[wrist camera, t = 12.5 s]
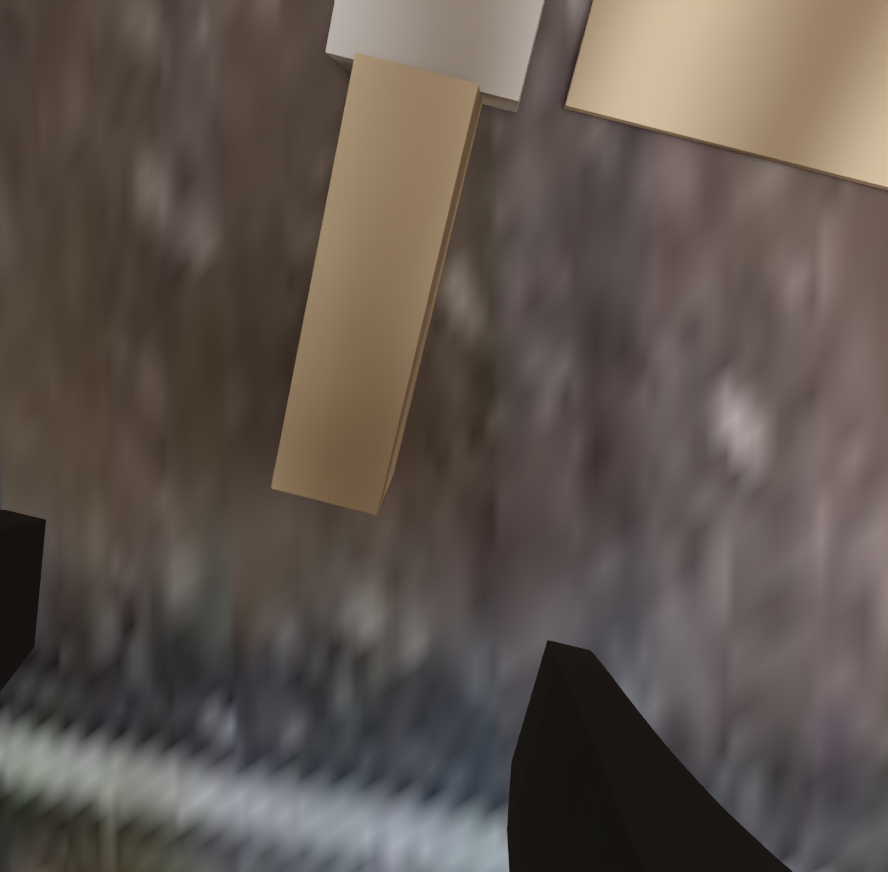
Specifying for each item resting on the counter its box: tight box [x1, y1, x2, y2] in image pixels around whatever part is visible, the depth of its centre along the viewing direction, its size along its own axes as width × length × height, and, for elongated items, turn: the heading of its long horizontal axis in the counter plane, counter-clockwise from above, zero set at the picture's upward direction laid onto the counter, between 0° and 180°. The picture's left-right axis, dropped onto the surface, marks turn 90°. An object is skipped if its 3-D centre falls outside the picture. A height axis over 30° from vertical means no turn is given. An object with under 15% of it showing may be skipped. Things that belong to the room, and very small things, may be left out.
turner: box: [271, 0, 545, 515], centre depth 17 cm, size 4×14×3 cm, turn 166°
